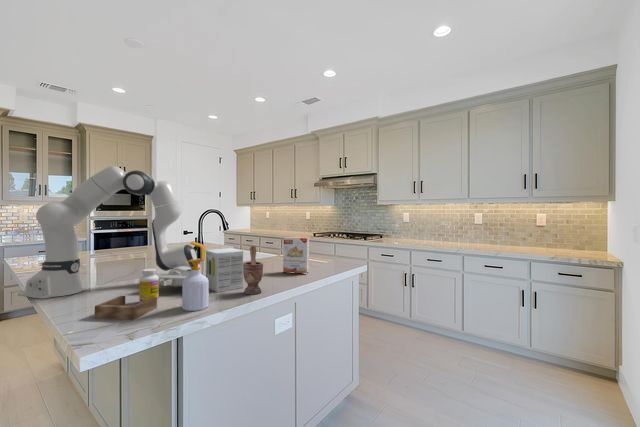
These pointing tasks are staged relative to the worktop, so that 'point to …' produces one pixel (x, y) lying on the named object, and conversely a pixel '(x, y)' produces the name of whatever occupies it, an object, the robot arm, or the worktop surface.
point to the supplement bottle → (149, 285)
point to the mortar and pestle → (252, 273)
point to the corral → (124, 309)
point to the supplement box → (224, 269)
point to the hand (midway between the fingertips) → (160, 283)
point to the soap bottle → (195, 286)
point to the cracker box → (296, 254)
